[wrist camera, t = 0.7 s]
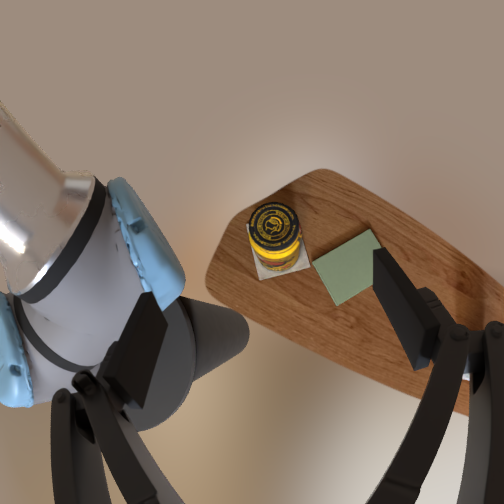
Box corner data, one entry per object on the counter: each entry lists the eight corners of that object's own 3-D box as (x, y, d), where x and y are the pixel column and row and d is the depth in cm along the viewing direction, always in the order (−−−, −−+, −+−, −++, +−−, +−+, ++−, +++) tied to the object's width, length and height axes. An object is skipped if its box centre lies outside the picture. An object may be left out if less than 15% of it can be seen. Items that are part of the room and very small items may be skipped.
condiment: (259, 280, 41) (248, 264, 29) (246, 224, 43) (230, 189, 31) (310, 267, 40) (319, 245, 28) (294, 212, 42) (295, 172, 31)
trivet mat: (336, 306, 38) (337, 305, 38) (311, 262, 40) (312, 261, 40) (393, 270, 38) (394, 269, 38) (369, 229, 40) (369, 228, 40)
